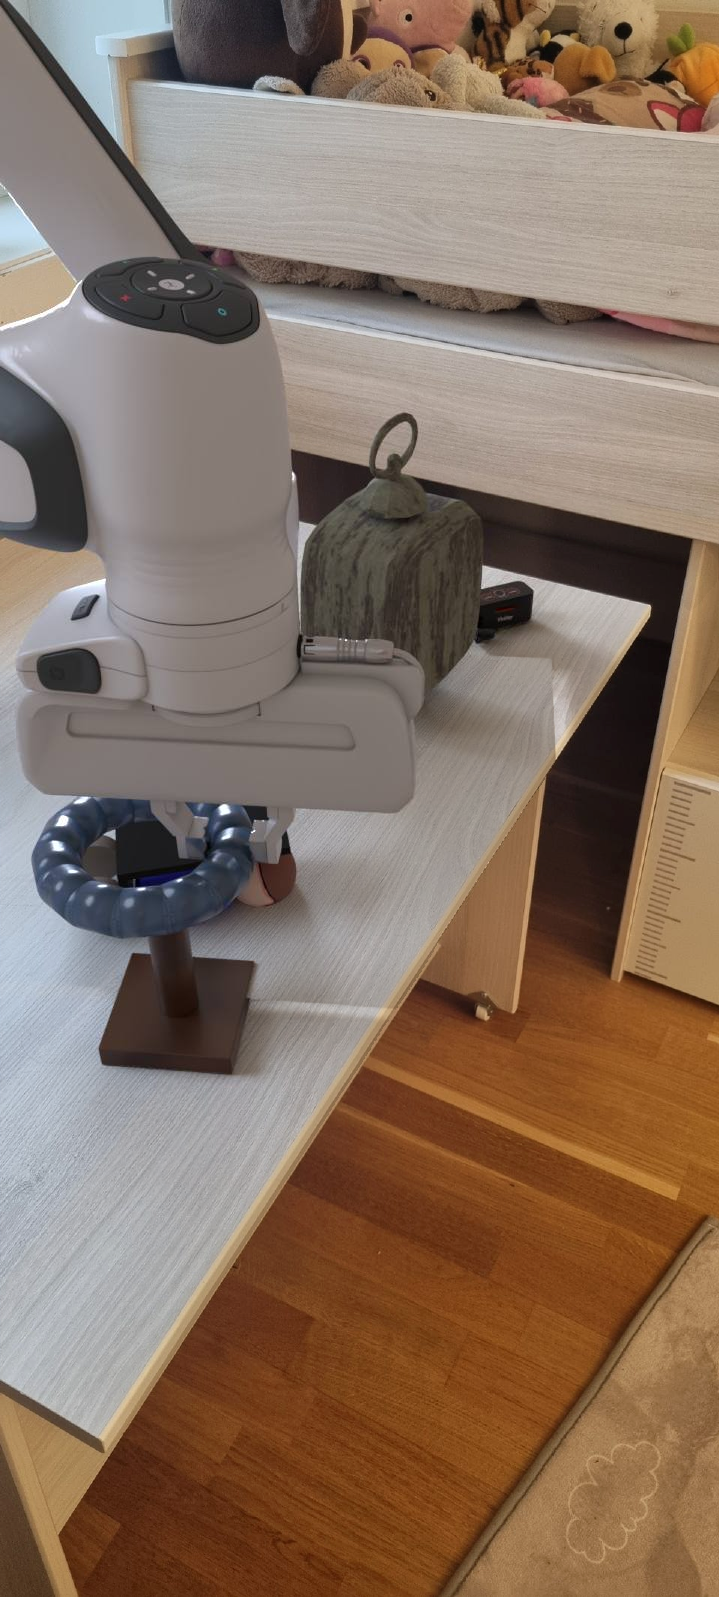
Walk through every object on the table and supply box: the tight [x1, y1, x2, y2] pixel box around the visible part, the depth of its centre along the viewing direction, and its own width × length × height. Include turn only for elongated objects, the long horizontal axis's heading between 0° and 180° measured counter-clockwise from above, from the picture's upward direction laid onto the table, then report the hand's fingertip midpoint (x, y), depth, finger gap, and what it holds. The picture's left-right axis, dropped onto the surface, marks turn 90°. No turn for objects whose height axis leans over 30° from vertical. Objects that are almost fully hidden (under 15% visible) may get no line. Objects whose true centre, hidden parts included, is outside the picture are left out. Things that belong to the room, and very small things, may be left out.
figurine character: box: [82, 805, 297, 910], centre depth 80 cm, size 7×8×15 cm
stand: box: [97, 927, 255, 1075], centre depth 71 cm, size 8×8×10 cm
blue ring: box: [30, 796, 255, 940], centre depth 66 cm, size 12×12×3 cm
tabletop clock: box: [299, 411, 484, 703], centre depth 94 cm, size 14×9×25 cm, turn 150°
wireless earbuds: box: [473, 580, 535, 645], centre depth 111 cm, size 5×7×3 cm, turn 114°
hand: (230, 854), depth 65 cm, fingers closed on blue ring, 2 cm apart
